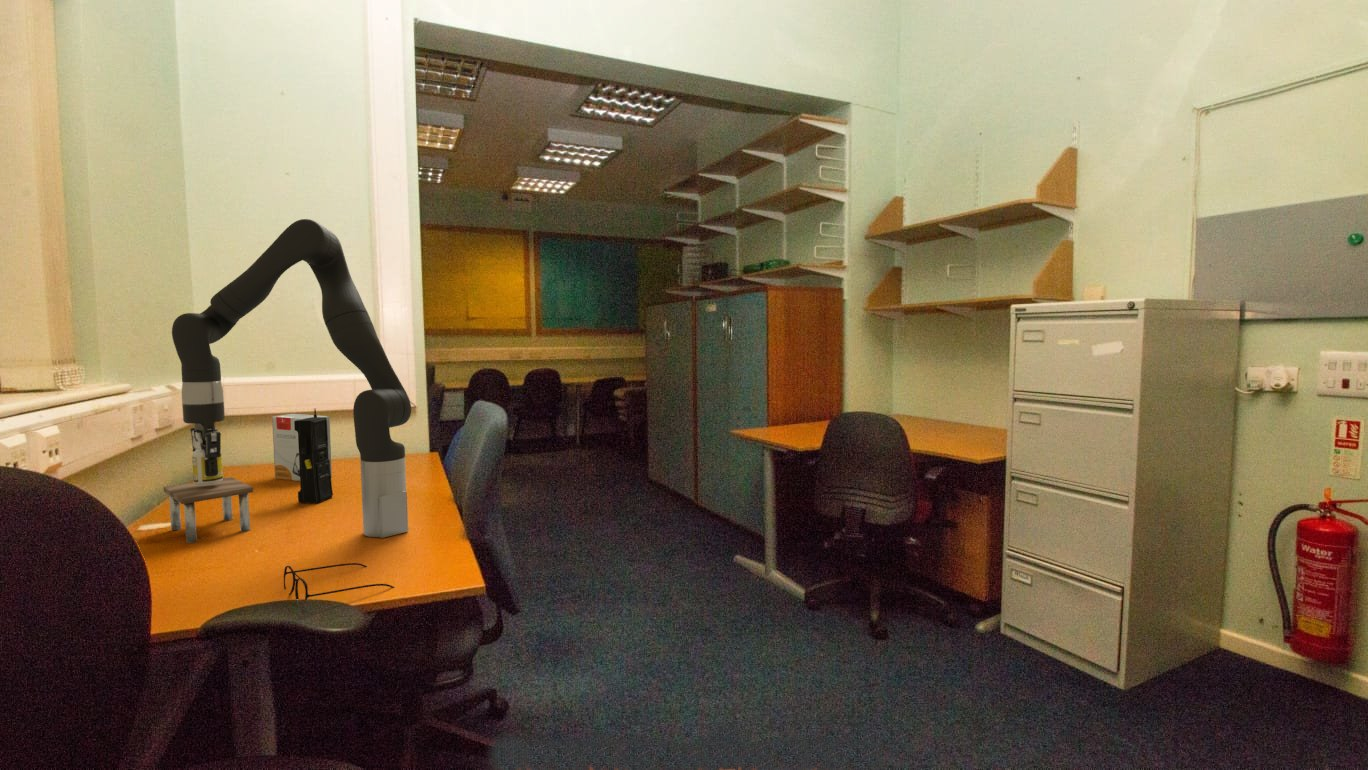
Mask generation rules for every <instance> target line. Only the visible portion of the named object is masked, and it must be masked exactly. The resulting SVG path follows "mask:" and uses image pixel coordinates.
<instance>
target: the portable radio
mask: <svg viewBox="0 0 1368 770" xmlns="http://www.w3.org/2000/svg"><path fill="white" fill-rule="evenodd" d="M313 411H314V414H313V415H314V417H311V418H305V419H301V420H296V421H294V427H295V431H297V432H298V444H299V465H300V481H299V483H300V484H299V485H300V487H299V488H300V489H299V491H297V499H298V500H297V501H298V503H300V504H319V503H321V502H324V501H326V500H328V499H331V498H332V497H333V495H334V492H333V485H332V477H331V471H330V460H329V457H328V433H327V420H326V417H317V411H316V409H313Z"/></svg>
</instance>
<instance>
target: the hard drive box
mask: <svg viewBox="0 0 1368 770" xmlns="http://www.w3.org/2000/svg"><path fill="white" fill-rule="evenodd" d="M314 415H315V414H304V413H303V414H301V413H300V414H299V413H288V414H281V415H273V416H271V418H272V422H271V423H272V437H273V438H272V439H273V440H272V441H273V442H272V443H273V444H272V445H273V461H274V464H273V465H274V478H275V479H278V480H282V481H283V480H284V481H296V482H300V465H299V444H298V432H297V431H295V427H294V421H296V420H301V419H305V418H311V417H314ZM316 415H317V414H316ZM317 417H326V420H327V433H328V457H329V460H330V471H331V478H332V477H333V474H332V473H333V471H332V470H333V468H332V449H331V448H332V445H331V442H332V441H331V421H330V415H329V416H328V415H317Z"/></svg>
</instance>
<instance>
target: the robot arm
mask: <svg viewBox="0 0 1368 770" xmlns="http://www.w3.org/2000/svg"><path fill="white" fill-rule="evenodd" d="M301 261H304V262H305V263H306V264H307V265H308V266H309V267H310V269H311V270H312V272H313V274H314V276H315V278H316V280H317V282H318V285H319V287H320V290H321V312H322V313H321V315H322V318H323V321H324V324H325V326H326V329H327V331H328V333H329V334H328V335H329V336H330V338H331V339H330V340H332V343H333V344H334V346H335V347H336V348H337V350H338V351H339V352H340V353H341V354H342V355H343V356H344V357H345V358H346V359H347V360H349V362H351V363H352V365H354V366H355V367H356V368H357V369H358V370H359V371H360V372H361V374H363V376H364V378H365V379H366V381H367V383H368V384H369V386H370V388H371V389H366V390H363V391H362V392H359V394H358V395H356V398H355V399H354V400H355V401H354V402H353V410H352V411H353V412H352V414H353V424H354V425H353V427H354V435H355V436H354V437H355V445H356V448H357V449H358V451H359V456H360V478H361V479H360V480H361V481H360V483H361V502H362V503H361V505H362V526H363V528H362V529H363V535H364V536H366V537H369V538H370V537H371V538H380V539H384V538H387V537H392V536H395V535H399V534H403V533H408V532H409V519H408V517H409V516H408V513H409V512H408V492H407V478H406V477H407V475H406V472H407V471H406V448H405V445H404V444H403V443H401V442H396V441H394V440H393V439H392V438H391V431H390V428H395V427H398V426H403V425H404V424H406V423H407V422H408V421H409V420H410V418H411V416H412V415H411V414H412V404H411V401H410V398H409V395H408V393H407V391H406V390H405V388H404V386H403V384H402V382H401V381H400V379H399V377H398V375H397V373H396V372H395V370H394V368H393V366H392V365H391V362H390V361H389V359H388V356H387V354H386V351H385V350H384V347H383V345H382V343H381V341H380V339H379V337H378V334H377V331H376V329H375V326H374V323H373V321H372V319H371V317H370V315H369V312H368V311H367V308H366V307H365V303H364V302H363V299H362V298H361V295H360V293H359V291H358V288H357V286H356V285H355V283H354V281H353V278H352V275H351V274H350V270H349V268H348V267H349V266H348V264H347V260H346V256H345V253H344V249H343V247H342V243H341V242H340V240H339V238H338V236H337V235H336V234H335V233H334V232H333V231H332V230H330V229H328V228H327V227H325V226H324V225H323V224H320V222H317V221H315V220H313V219H308V218H304V219H303V218H302V219H299V220H296V221H293V222H292V223H291V224H290V225H289V226H287V227H286V229H284V230H283V232H281V234H279V235H278V236H277V238H276V239H275V240H274V241H273V242H272V243H271V244H270V245H269V246H268V247H267V249H266V250H264V252H262V254H260V256H259V257H258V258H257V259H256V260H255V261H254V262H253V263H252V264H251V265H250V266H249V267H248V268H247V269H245V271H244V272H242V273H241V274H240V275H238V276H237V277H236V278H235V279H233V280H232V281H231V282H229V283H228V284H227V285H225V286H224V287H223V288H222V289H220V290H218V292H216V293H215V294H214V295H212V297H211V299H210V302H209V303H210V305H209V306H208V307H207V308H206V309H205V310H203V311H202V312H200V313H195V312H194V313H193V312H186V313H182V314H180V315H178V316H177V317H176V318H175V320H174V321H173V323H172V326H171V337H172V340H173V341H172V342H173V345H174V348H175V351H176V353H177V356H178V358H179V361H180V364H181V384H182V386H181V404H182V421H183V423H185V424H189V425H191V424H193V425H194V427H191V428H190V429H189V430H190V435H191V445H192V453H193V452H194V451H196V450H197V448H195V441H198V443H199V449H200V451H202V452H203V456H204V462H205V475H206V476H208V477H209V476H216V475H217V474H218V465H217V459H218V457H220V456H221V454H222V449H221V447H222V446H221V437H222V436H221V435H222V434H221V432H220V431H218V429H217V428H216V426H215V424H216V423H217V422H218V423H219V422H222V421H224V420H225V418H226V416H225V401H224V399H225V398H224V389H223V384H222V374H221V373H222V371H221V364H220V363H221V362H220V360H219V358H218V356H215V355H213V354H212V350H211V344H214V343H216V342H218V341H220V340H221V339H222V338H224V337H226V336H227V334H228V333H229V332H230V331H231V330H233V328H234V327H235V326H236V324H237V323H238V322H239V321H240V320H241V319H242V318H244V317H245V316H246V315H248V314H249V313H251V312H252V311H253V310H254V309H256V308H257V307H258V306H260V305H261V303H262V304H263V302H264V301H265V300H266V299H267V298H268V296H269V295H270V294H271V292H272V290H273V289H274V287H275V285H276V283H277V282H278V280H279V278H281V276H282V275H283V274H285V272H287V270H289V269H290V268H292V267H293V266H294V265H296V264H298V263H301ZM204 445H206V446H204ZM210 450H213V451H214V452H213V453H210Z"/></svg>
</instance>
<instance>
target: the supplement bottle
mask: <svg viewBox="0 0 1368 770" xmlns="http://www.w3.org/2000/svg"><path fill="white" fill-rule="evenodd" d="M204 446H206V445H204ZM195 448H197V450H196V451H194V452H193V451H192V453H191V460H192V461H191V462H192V464H191V465H192V476H193V477H192V478H193V479H192V480H193V482H194V484H196V485H206V484H214V483H218V482H221V481H222V480H223V478H224V473H223V471H224V470H223V456H222V454H223V453H221V456H220V457H218V459H217V465H218V474H217V475H216V476H209V477H208V476H206V475H205V462H204V456H203V452H202V451H200V449H199V443H198V441H195ZM213 452H214V451H213V450H210V453H213Z"/></svg>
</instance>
